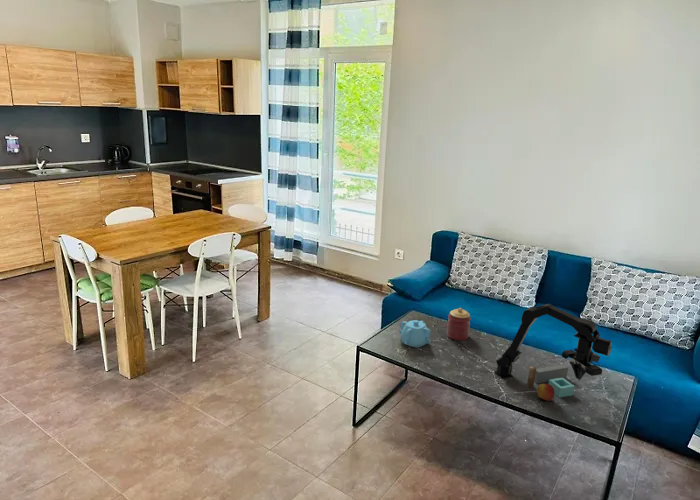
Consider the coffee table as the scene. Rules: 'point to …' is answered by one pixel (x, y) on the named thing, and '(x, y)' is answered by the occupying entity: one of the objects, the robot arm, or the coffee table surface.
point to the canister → (458, 324)
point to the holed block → (562, 387)
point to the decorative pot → (415, 333)
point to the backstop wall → (550, 373)
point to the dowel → (531, 377)
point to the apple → (545, 392)
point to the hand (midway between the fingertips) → (578, 379)
